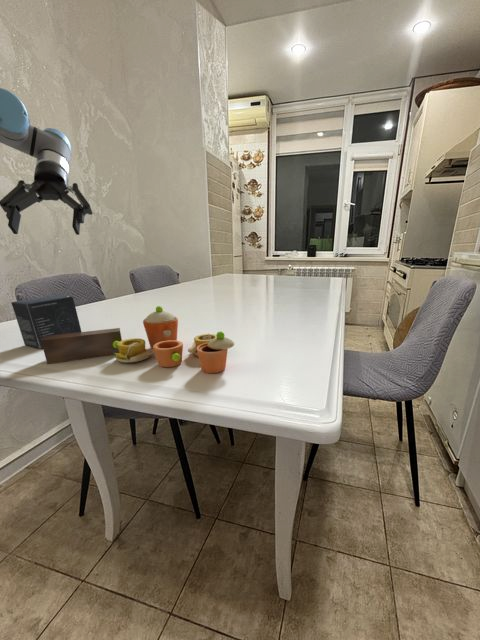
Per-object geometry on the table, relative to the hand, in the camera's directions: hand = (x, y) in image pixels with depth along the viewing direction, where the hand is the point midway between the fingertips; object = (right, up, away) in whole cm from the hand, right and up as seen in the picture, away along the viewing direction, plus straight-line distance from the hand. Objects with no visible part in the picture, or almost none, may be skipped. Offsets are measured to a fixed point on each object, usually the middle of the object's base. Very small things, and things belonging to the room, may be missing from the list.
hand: (45, 230), depth 72 cm
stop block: (+17, -31, -10) cm, 37 cm away
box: (+3, -28, -1) cm, 28 cm away
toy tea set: (+37, -32, -11) cm, 50 cm away
